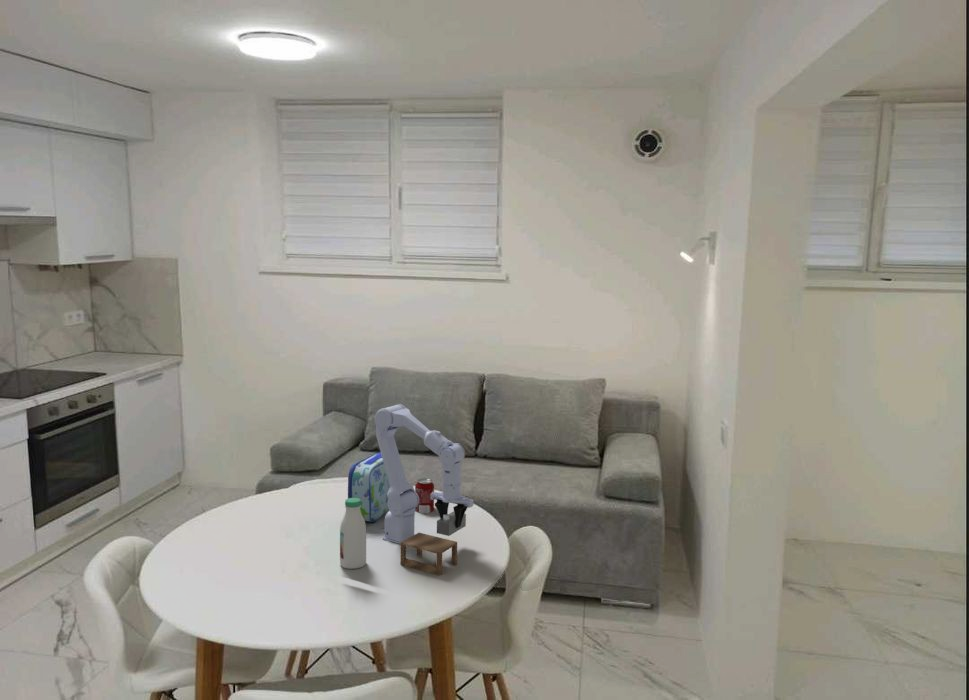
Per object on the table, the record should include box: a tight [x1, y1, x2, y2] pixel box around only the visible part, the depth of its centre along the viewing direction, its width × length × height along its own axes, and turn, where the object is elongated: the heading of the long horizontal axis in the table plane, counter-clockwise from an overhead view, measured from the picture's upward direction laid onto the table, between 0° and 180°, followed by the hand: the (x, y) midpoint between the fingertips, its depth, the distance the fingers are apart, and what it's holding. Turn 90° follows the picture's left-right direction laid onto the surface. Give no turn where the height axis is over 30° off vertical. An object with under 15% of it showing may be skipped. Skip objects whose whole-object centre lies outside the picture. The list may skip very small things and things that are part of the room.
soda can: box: [414, 478, 435, 514], centre depth 267 cm, size 7×7×12 cm
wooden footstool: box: [400, 532, 458, 577], centre depth 223 cm, size 14×10×7 cm
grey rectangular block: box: [436, 508, 467, 537], centre depth 233 cm, size 4×10×6 cm, turn 151°
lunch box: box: [347, 451, 391, 523], centre depth 265 cm, size 26×11×21 cm, turn 164°
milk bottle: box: [339, 497, 367, 570], centre depth 221 cm, size 8×8×20 cm
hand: (451, 525), depth 233 cm, fingers closed on grey rectangular block, 4 cm apart
